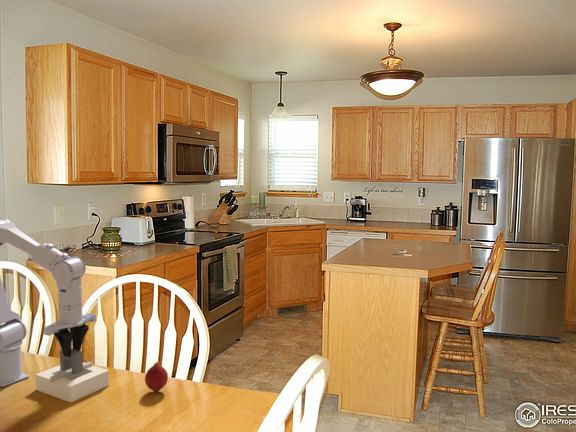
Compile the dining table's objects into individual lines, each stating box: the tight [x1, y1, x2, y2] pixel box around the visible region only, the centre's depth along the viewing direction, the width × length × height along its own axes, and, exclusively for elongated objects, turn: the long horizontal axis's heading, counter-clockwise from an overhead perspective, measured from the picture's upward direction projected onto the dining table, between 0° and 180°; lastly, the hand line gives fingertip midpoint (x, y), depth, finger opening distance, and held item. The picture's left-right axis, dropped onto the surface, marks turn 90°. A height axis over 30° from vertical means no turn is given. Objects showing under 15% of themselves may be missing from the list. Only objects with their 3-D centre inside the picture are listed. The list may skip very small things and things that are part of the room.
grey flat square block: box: [59, 347, 84, 375], centre depth 140 cm, size 6×2×6 cm, turn 60°
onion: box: [144, 361, 169, 393], centre depth 139 cm, size 6×6×8 cm
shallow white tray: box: [34, 361, 110, 403], centre depth 141 cm, size 14×12×5 cm
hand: (71, 354), depth 140 cm, fingers closed on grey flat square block, 2 cm apart
